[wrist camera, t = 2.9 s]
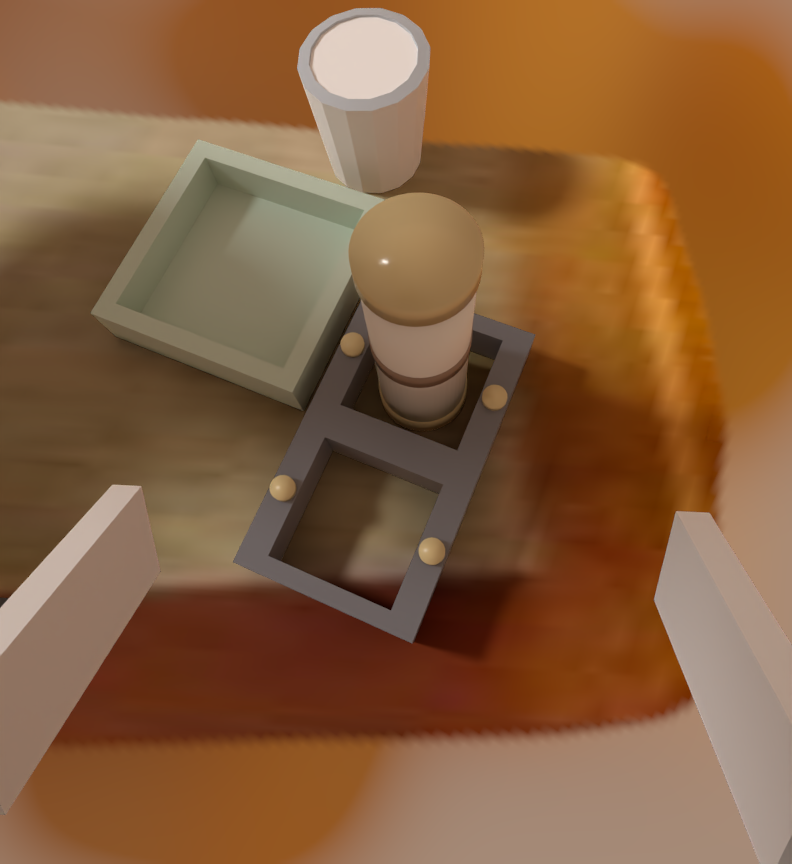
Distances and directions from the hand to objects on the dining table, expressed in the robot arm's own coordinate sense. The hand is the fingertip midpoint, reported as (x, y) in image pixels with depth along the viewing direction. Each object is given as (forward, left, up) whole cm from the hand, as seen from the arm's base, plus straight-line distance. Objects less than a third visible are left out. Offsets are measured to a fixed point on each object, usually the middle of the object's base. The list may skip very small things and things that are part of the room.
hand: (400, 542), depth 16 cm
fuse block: (-4, +5, -16) cm, 17 cm away
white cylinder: (-12, +23, -16) cm, 30 cm away
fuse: (-4, +9, -16) cm, 19 cm away
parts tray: (-15, +12, -16) cm, 25 cm away
